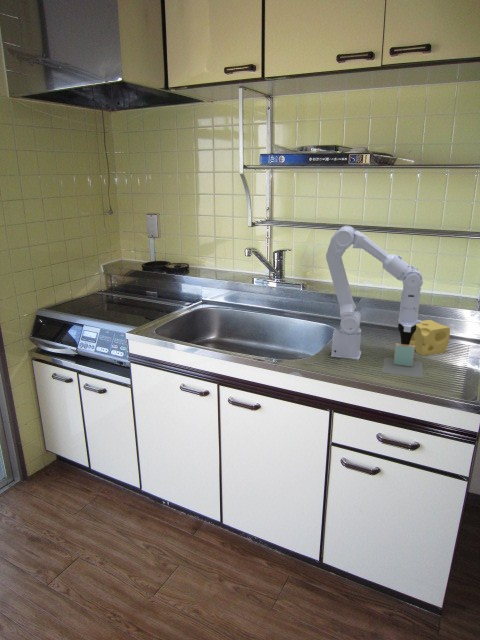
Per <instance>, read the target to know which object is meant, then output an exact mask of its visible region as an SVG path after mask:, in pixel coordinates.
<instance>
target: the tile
mask: <svg viewBox="0 0 480 640" xmlns="http://www.w3.org/2000/svg"><path fill="white" fill-rule="evenodd" d="M415 353H416V350H415V345H407V344H401V343H398V342H397V343H395V346H394V354H393V359H394V362H393V364H395V365H402V366H410V367H413V361H415V360H414V359H415Z"/></svg>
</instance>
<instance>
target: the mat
mask: <svg viewBox="0 0 480 640" xmlns="http://www.w3.org/2000/svg"><path fill="white" fill-rule="evenodd" d="M393 362H394V358H390V357H384V359H383V366H382V371H381V373H383V374H389V375H396V376H397V375H398V376H405V377H413V378H418V379H419V378H420V379H423V378H424V375H423V374H424V373H423V371H424V370H423V369H424V368H423V366H424V365H423V361H416V360H413V367H410V366H402V365H395V364H393Z"/></svg>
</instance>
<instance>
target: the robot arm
mask: <svg viewBox="0 0 480 640" xmlns="http://www.w3.org/2000/svg"><path fill="white" fill-rule="evenodd" d="M351 246H352V249H362V250H363V251H364V252H367V253H368V254H369V255H371V256H372V257H373V258H376V260H378V261H379V262H381V264H382V269H383V270H385V271H386V273H389V274H390V275H391V276H393V277H394V278H395V279H396V280H398V281H400V282H402V285H403V287H402V291H401V294H400V295H401V296H400V304H399V314H398V319H397V322H398V325H397V328H398V331H399V335H400V344H407V345H409V344H410V341H411V338H412V335H413V334H414V332H415V331H416V324H421V321H422V320H421V319H418V318H419V310H420V308H419V307H420V302H421V301H420V300H421V291H422V288H421V287H422V286H423V283H424V281H423V280H424V279H423V275H422V272H421V271H419V269H418V268H415V266H414V265H413V264H411V265H410V264H409V263H408V262H406V261H405V260H403V256H402V255H400V254H398V255H397V254H395V253H393V254H389V253H387V252H386V251H385V250H384V249H383V248H382V247H380V246H379V245H378V244H377V243H375V242H374V241H373V240H371V238H369V237H368V236H366V235H365V234H363V233H362V231H359V230H357V229H355V228H354V227H353V226H351V225H343V226H341V227H340V228H339V229H337V231H336V232H335V233H334V234H333V235H332V236H331V238H330V242H329V245H328V247H327V250H326V251H327V252H326V254H325V259H326V262H327V266H328V270H329V273H330V277H331V280H332V285H333V287H334V291H335V294H336V299H337V303H338V306H339V316H340V323H339V324H340V325H339V327H340V328H339V329H338V328H336V329H335V328H334V330H333V333H332V338H331V355H330V357H332V358H336V359H337V358H339V359H341V358H344V359H345V358H346V359H352V360H353V359H354V360H359V359H360V357H361V355H362V350H361V339H362V329H361V328H360V327H361V326H360V325H361V322H362V318H363V317H362V314H361V312H360V311H359V310H358V308H357V305H356V303H355V301H354V298H353V295H352V291H351V287H350V284H349V281H348V280H349V279H348V276H347V273H346V268H345V264H344V262H343V258H342V257H343V255H344V253H346V250H347V249H349V248H350V247H351Z"/></svg>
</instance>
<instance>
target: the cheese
mask: <svg viewBox="0 0 480 640" xmlns="http://www.w3.org/2000/svg"><path fill="white" fill-rule="evenodd" d="M450 337H451V328H450V326H448V325H444V324H441V323H438V322H436V321H434V320H432V319H426V320H425V319H424V320H421V324H416V331H415V332H414V334H413V335H412V338H411V341H410V344H409V345H415V353H417V354H419V355H420V356H422V357H423V356H428V355H436V354H445V353H446V352H447V348H448V346H449V342H450Z"/></svg>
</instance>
